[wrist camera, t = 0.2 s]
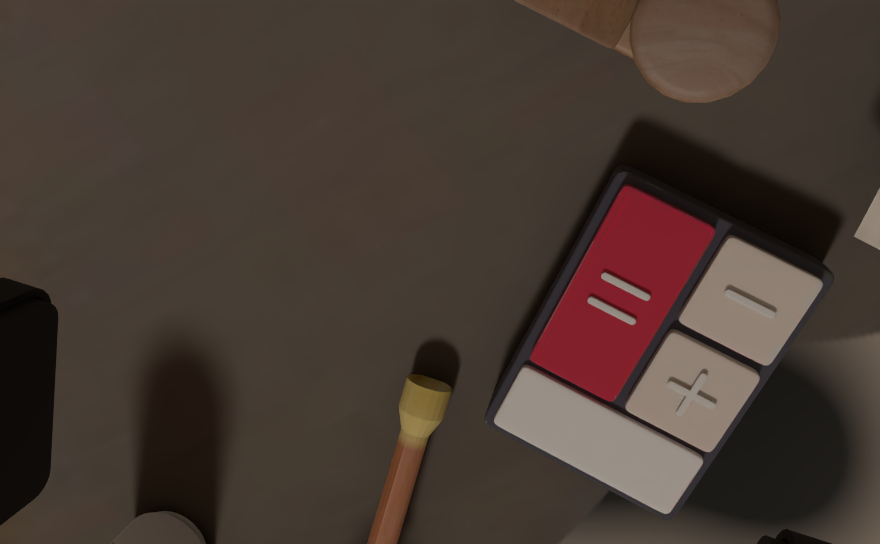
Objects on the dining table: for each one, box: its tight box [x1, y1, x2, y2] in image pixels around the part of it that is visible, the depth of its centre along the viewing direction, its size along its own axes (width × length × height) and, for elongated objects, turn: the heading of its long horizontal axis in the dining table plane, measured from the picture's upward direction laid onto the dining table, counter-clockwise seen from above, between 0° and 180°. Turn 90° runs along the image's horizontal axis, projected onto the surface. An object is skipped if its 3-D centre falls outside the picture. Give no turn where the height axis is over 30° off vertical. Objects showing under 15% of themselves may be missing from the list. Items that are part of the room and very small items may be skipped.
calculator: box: [485, 164, 834, 520], centre depth 38 cm, size 11×4×15 cm
